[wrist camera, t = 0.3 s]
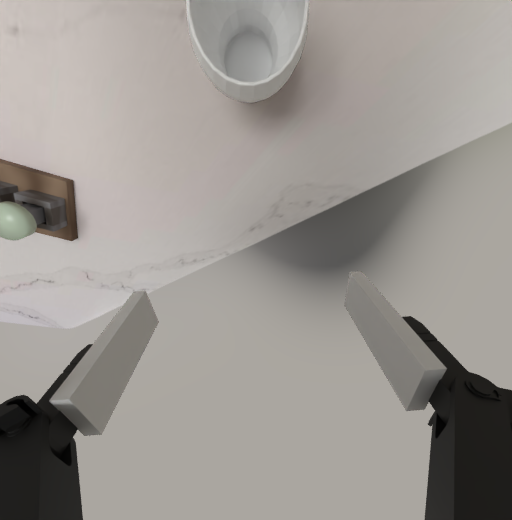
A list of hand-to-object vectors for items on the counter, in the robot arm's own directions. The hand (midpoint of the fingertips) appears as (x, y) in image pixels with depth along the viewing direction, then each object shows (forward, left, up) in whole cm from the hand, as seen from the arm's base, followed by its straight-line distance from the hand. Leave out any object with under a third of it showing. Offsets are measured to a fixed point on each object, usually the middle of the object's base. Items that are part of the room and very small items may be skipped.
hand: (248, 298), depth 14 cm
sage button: (0, -34, -24) cm, 42 cm away
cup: (-18, +1, -28) cm, 33 cm away
